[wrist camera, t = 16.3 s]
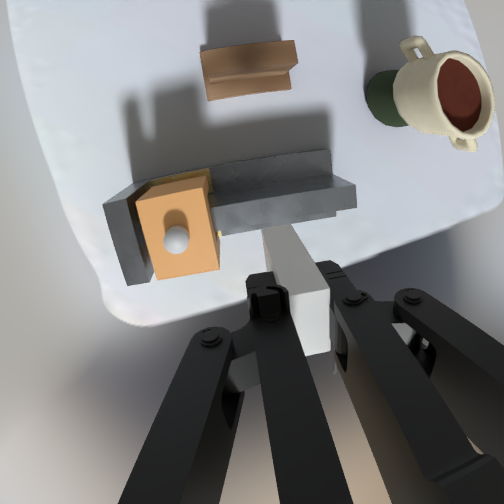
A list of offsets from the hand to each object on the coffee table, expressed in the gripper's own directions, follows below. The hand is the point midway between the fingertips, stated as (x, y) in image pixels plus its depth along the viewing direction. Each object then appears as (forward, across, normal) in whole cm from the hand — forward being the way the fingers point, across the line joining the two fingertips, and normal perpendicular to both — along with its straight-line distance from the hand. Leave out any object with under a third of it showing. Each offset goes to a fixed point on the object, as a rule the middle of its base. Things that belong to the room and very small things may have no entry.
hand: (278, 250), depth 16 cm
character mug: (+17, +16, +8) cm, 25 cm away
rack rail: (+17, -2, -1) cm, 17 cm away
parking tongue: (+17, +1, +12) cm, 21 cm away
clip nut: (+13, -6, -1) cm, 15 cm away
